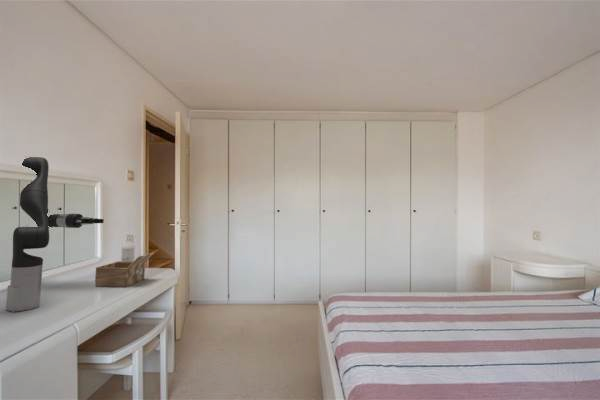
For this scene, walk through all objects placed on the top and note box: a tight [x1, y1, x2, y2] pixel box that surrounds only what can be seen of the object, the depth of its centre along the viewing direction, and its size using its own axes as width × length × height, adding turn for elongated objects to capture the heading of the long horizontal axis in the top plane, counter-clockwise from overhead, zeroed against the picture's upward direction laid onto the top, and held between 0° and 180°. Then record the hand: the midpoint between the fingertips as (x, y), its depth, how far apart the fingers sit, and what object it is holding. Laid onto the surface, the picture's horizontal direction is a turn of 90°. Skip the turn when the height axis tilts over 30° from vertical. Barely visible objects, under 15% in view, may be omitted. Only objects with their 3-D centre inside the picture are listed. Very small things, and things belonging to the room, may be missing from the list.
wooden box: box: [94, 261, 146, 288], centre depth 157 cm, size 19×17×10 cm
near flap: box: [128, 251, 156, 268], centre depth 158 cm, size 17×8×1 cm
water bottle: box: [120, 234, 136, 262], centre depth 177 cm, size 7×7×25 cm
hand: (102, 221), depth 149 cm, fingers closed
